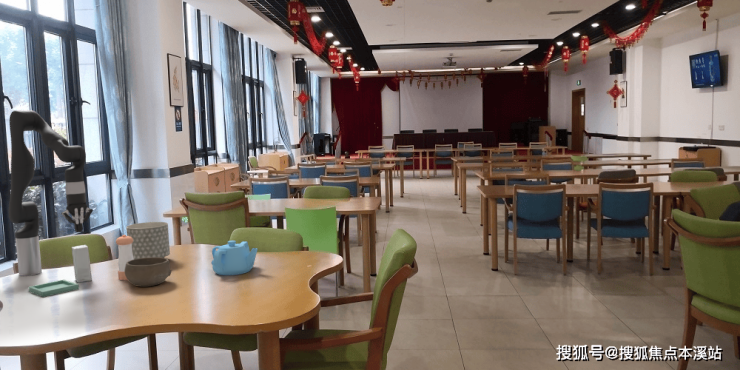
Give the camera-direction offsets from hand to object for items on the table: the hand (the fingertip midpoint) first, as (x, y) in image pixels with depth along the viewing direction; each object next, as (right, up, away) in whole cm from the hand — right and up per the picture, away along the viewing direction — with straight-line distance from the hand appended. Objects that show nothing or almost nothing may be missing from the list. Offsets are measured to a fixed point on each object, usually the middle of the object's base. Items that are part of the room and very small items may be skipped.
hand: (79, 232), depth 264 cm
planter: (+18, -17, +34) cm, 43 cm away
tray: (-4, -23, -14) cm, 27 cm away
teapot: (+65, -18, +8) cm, 69 cm away
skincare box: (+1, -21, +2) cm, 21 cm away
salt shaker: (+20, -21, +3) cm, 29 cm away
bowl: (+33, -21, -9) cm, 41 cm away
